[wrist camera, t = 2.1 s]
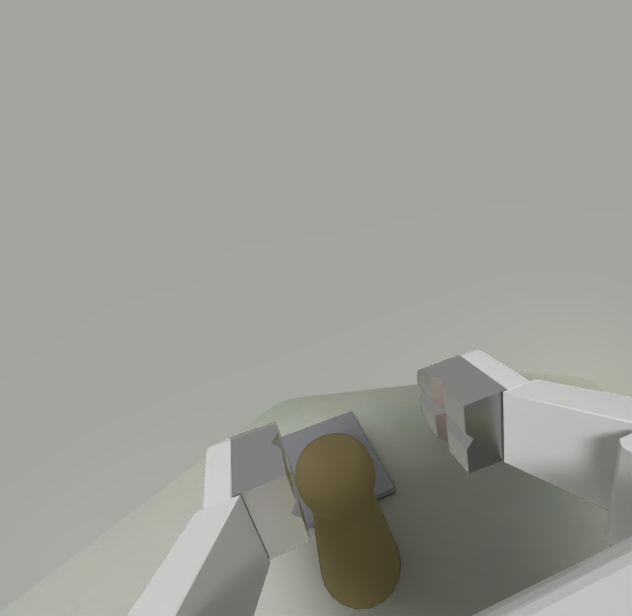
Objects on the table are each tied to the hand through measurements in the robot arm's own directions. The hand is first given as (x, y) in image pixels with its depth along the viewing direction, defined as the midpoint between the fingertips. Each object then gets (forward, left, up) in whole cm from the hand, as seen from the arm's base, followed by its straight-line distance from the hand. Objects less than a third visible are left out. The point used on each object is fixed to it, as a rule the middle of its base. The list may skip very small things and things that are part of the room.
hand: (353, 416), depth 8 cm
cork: (0, +10, -22) cm, 24 cm away
